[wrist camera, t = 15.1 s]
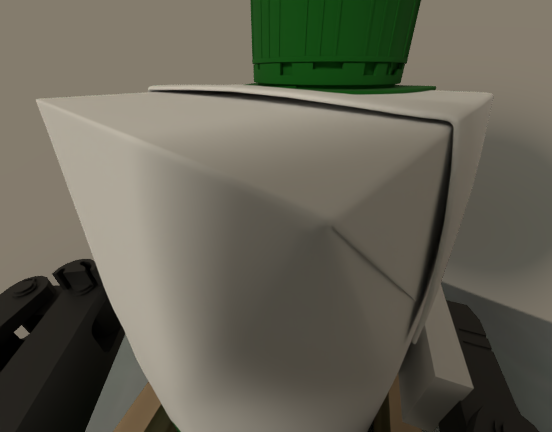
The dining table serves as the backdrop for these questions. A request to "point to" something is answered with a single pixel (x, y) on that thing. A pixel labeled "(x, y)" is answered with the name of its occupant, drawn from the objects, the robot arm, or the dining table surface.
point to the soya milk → (277, 217)
